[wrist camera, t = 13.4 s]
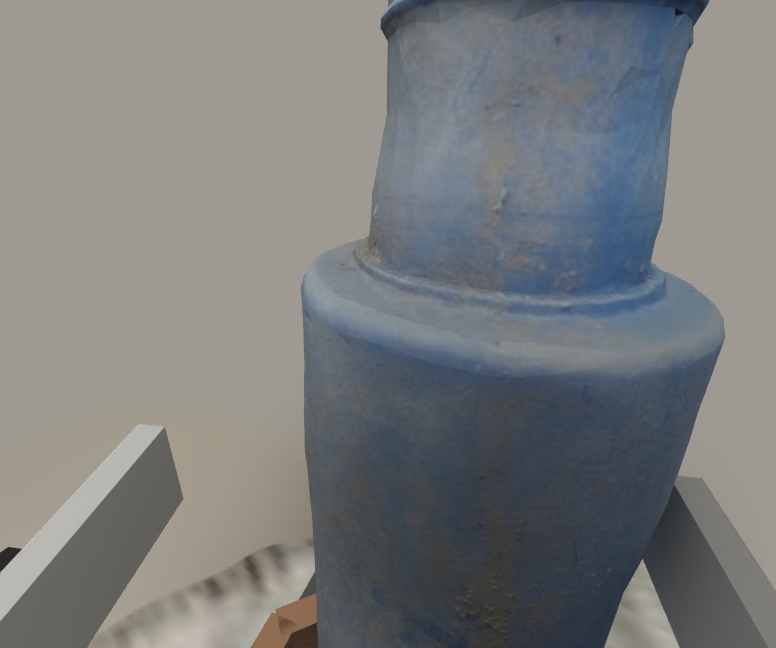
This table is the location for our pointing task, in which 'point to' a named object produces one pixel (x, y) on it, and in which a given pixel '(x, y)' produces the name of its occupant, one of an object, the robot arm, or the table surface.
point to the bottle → (504, 332)
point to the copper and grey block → (292, 623)
